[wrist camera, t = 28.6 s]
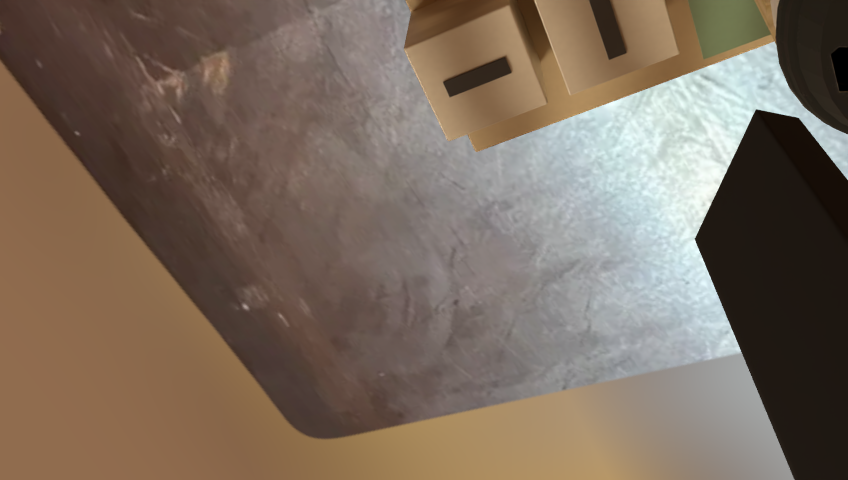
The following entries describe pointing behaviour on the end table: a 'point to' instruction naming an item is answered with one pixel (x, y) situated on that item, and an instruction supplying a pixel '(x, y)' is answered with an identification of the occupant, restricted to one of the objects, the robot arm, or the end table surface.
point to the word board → (561, 55)
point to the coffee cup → (813, 53)
